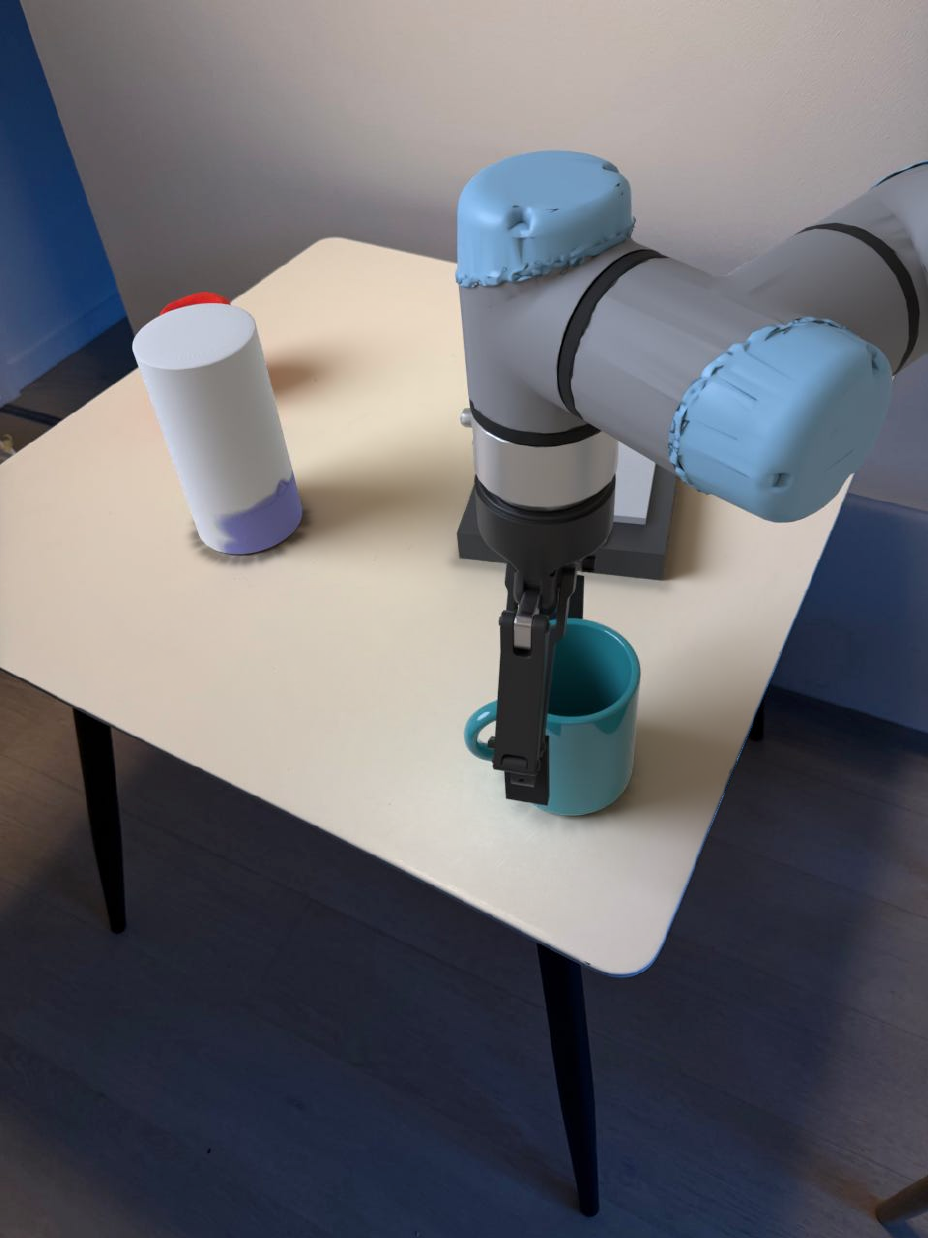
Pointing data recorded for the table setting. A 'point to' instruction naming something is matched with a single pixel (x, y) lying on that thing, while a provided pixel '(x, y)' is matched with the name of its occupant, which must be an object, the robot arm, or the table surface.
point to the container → (221, 425)
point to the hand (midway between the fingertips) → (546, 714)
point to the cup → (583, 719)
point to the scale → (635, 525)
